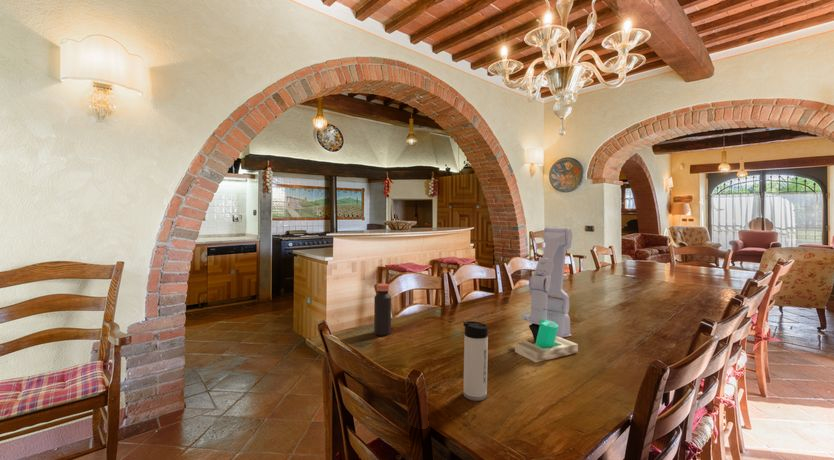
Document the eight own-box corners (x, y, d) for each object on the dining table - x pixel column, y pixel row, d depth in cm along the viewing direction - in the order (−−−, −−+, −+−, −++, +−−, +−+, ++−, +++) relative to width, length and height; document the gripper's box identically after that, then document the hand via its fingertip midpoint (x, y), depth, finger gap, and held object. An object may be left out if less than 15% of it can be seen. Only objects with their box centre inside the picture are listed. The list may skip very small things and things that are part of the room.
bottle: (386, 337, 142) (387, 287, 141) (371, 334, 144) (371, 285, 143) (393, 331, 148) (393, 283, 147) (378, 329, 150) (378, 282, 149)
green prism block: (552, 356, 125) (560, 325, 122) (534, 351, 126) (541, 320, 124) (551, 348, 130) (559, 318, 128) (534, 343, 132) (541, 313, 129)
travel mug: (460, 389, 100) (461, 319, 99) (483, 389, 101) (484, 319, 100) (464, 401, 94) (466, 326, 93) (489, 400, 94) (491, 326, 93)
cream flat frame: (555, 343, 137) (555, 335, 137) (577, 352, 128) (577, 344, 128) (514, 351, 128) (515, 343, 128) (535, 362, 119) (535, 353, 119)
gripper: (516, 304, 135) (515, 339, 136) (546, 314, 122) (544, 353, 123) (530, 302, 139) (529, 337, 139) (560, 312, 126) (559, 350, 126)
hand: (537, 344), depth 131 cm, fingers closed
